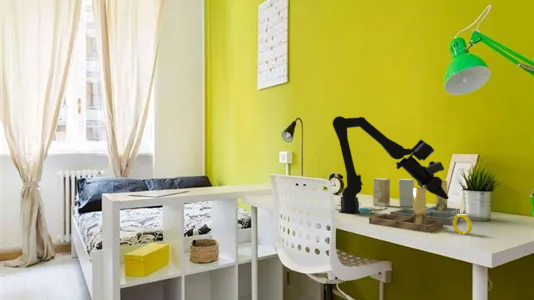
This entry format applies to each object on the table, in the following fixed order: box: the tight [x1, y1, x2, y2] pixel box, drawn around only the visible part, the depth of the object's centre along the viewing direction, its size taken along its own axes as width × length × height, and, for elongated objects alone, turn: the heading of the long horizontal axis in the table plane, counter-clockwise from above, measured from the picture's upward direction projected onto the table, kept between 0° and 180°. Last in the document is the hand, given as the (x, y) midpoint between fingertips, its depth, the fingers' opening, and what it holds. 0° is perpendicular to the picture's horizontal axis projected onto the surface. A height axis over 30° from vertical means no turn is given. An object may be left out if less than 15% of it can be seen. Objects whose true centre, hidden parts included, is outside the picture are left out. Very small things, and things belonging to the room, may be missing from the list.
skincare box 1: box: [372, 177, 391, 208], centre depth 170 cm, size 6×4×12 cm
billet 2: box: [435, 180, 448, 212], centre depth 147 cm, size 4×4×13 cm
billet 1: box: [412, 186, 427, 225], centre depth 124 cm, size 4×4×13 cm
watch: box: [452, 213, 473, 235], centre depth 115 cm, size 6×3×6 cm, turn 20°
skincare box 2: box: [398, 178, 415, 208], centre depth 168 cm, size 6×4×12 cm
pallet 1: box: [368, 213, 444, 233], centre depth 128 cm, size 21×11×2 cm, turn 44°
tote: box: [426, 205, 461, 215], centre depth 147 cm, size 11×11×2 cm
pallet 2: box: [389, 208, 461, 226], centre depth 138 cm, size 21×11×2 cm, turn 44°
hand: (445, 197), depth 147 cm, fingers open, 7 cm apart
